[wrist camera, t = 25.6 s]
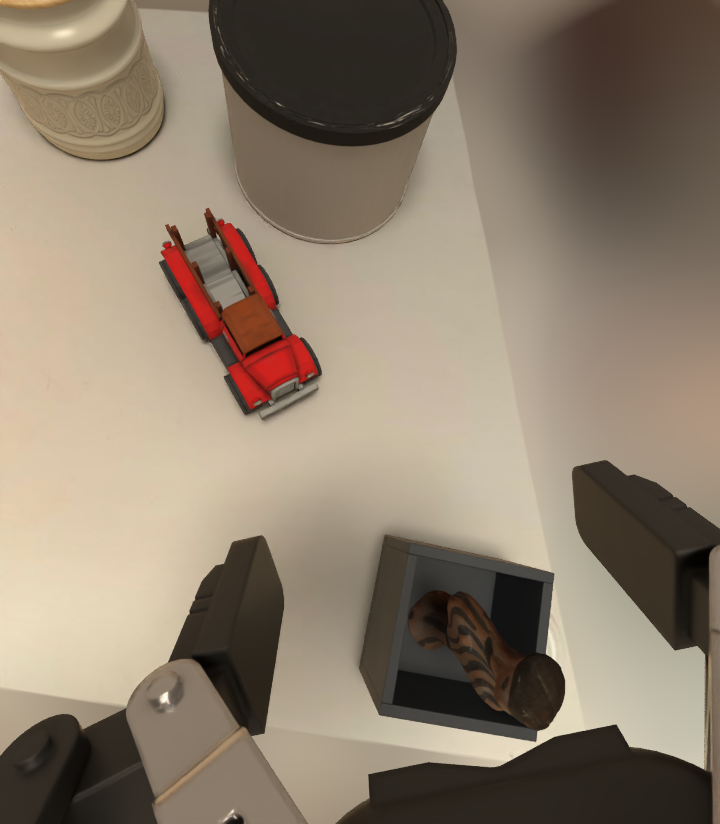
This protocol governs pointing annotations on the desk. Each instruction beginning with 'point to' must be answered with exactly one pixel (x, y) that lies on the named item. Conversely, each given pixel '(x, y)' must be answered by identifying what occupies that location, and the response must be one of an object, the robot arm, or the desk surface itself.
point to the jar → (82, 73)
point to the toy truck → (239, 316)
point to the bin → (440, 668)
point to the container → (330, 105)
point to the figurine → (490, 658)
